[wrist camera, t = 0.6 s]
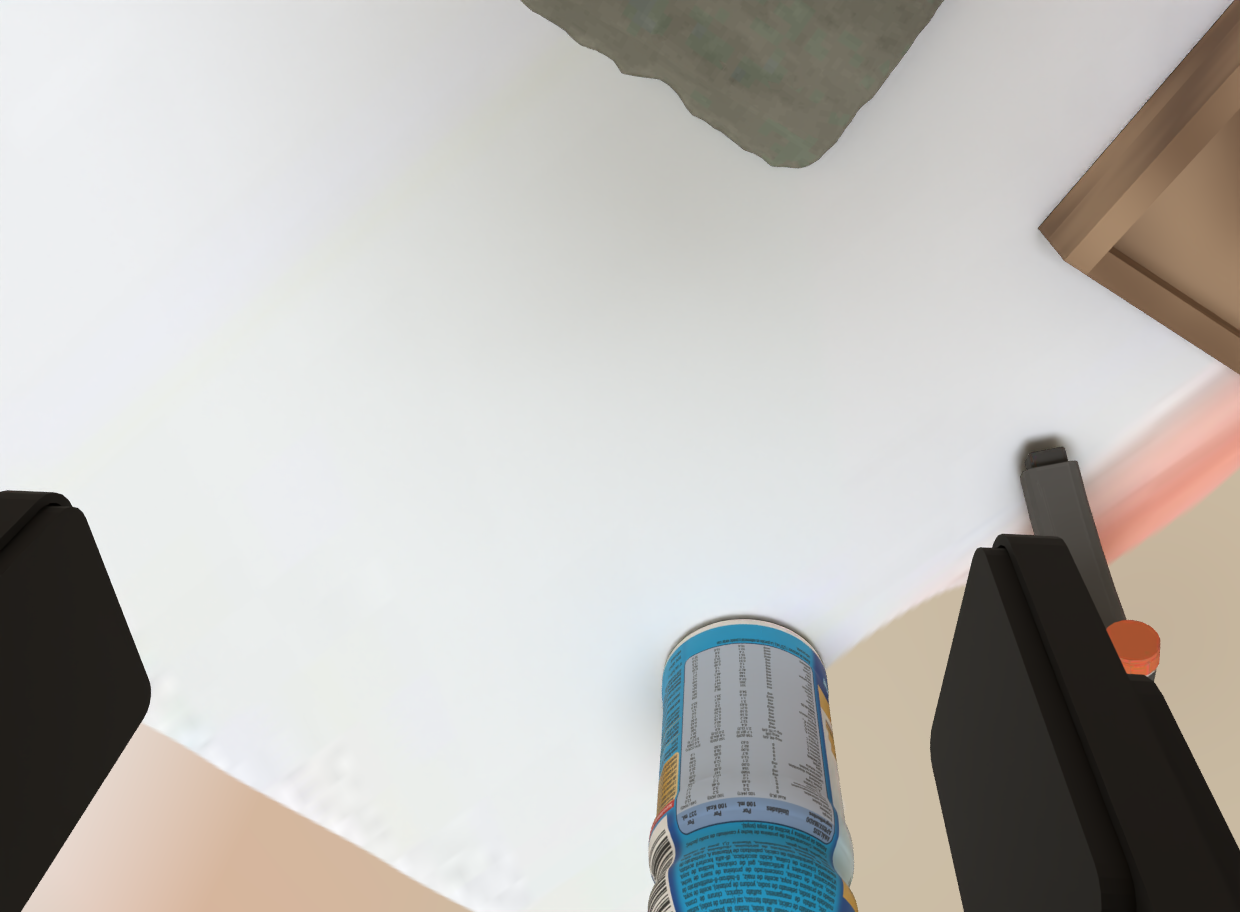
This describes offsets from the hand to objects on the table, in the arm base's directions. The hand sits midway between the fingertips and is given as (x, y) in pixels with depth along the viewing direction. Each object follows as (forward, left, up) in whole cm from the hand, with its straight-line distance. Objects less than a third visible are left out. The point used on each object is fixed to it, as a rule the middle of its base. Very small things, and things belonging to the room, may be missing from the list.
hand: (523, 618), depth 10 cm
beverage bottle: (+23, +19, -29) cm, 41 cm away
